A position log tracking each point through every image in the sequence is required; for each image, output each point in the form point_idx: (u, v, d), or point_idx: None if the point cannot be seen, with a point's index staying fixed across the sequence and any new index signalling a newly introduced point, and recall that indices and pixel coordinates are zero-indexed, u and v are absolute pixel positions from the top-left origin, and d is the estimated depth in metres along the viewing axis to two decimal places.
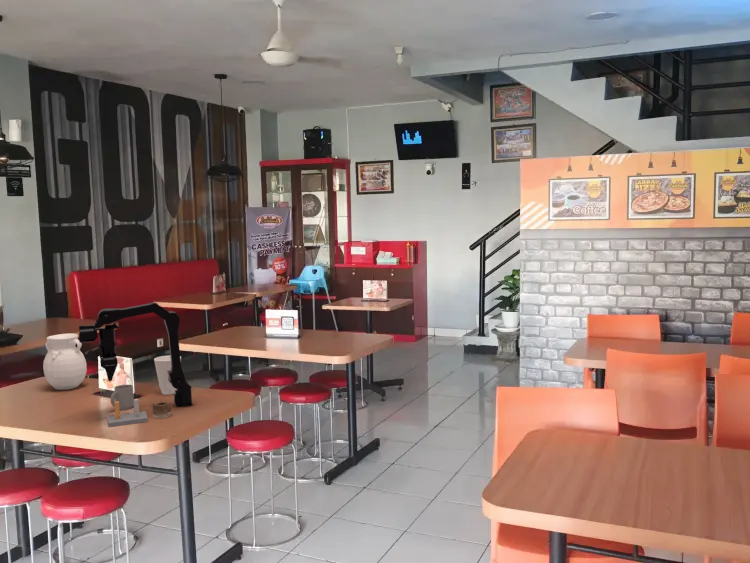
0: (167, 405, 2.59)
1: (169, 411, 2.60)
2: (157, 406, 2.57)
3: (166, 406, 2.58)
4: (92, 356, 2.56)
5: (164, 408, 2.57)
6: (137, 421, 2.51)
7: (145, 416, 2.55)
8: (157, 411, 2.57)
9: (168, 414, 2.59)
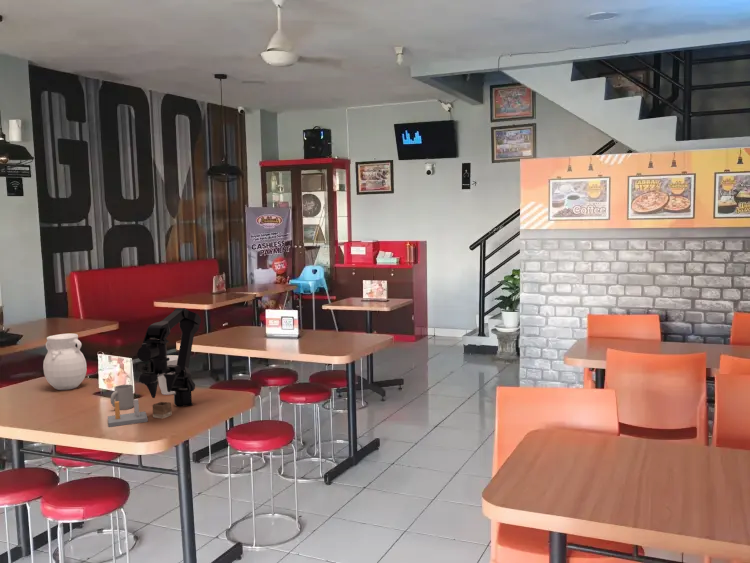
0: (167, 405, 2.59)
1: (169, 411, 2.60)
2: (157, 406, 2.57)
3: (166, 406, 2.58)
4: (140, 370, 2.56)
5: (164, 408, 2.57)
6: (137, 421, 2.51)
7: (145, 416, 2.55)
8: (157, 411, 2.57)
9: (168, 414, 2.59)
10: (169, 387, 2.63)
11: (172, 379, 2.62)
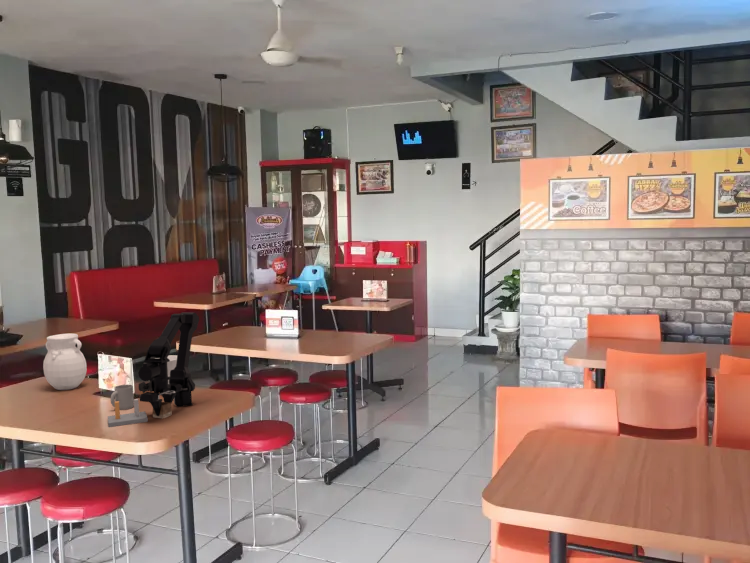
0: (167, 405, 2.59)
1: (169, 411, 2.60)
2: None
3: (166, 406, 2.58)
4: (141, 389, 2.57)
5: (164, 408, 2.57)
6: (137, 421, 2.51)
7: (145, 416, 2.55)
8: None
9: (168, 414, 2.59)
10: None
11: (169, 399, 2.61)
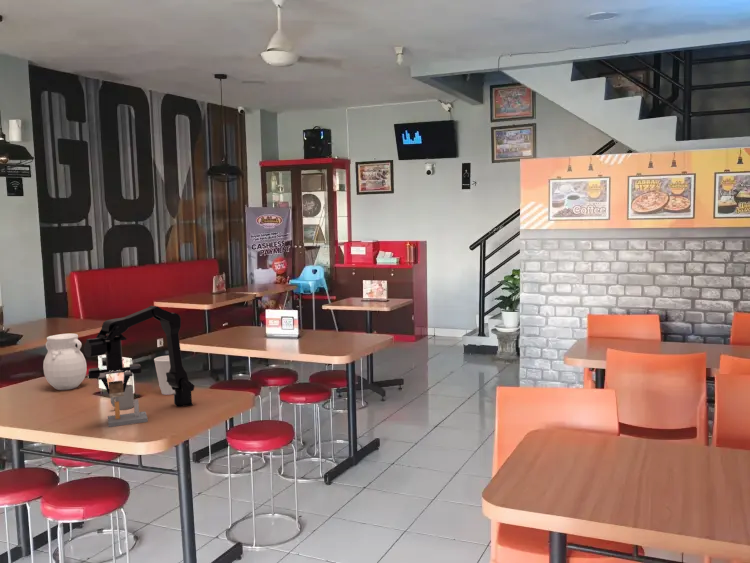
0: (116, 385, 2.49)
1: (120, 391, 2.50)
2: None
3: (115, 386, 2.49)
4: (102, 364, 2.55)
5: (111, 387, 2.49)
6: (137, 421, 2.51)
7: (145, 416, 2.55)
8: None
9: (118, 394, 2.50)
10: (123, 387, 2.52)
11: (124, 380, 2.51)
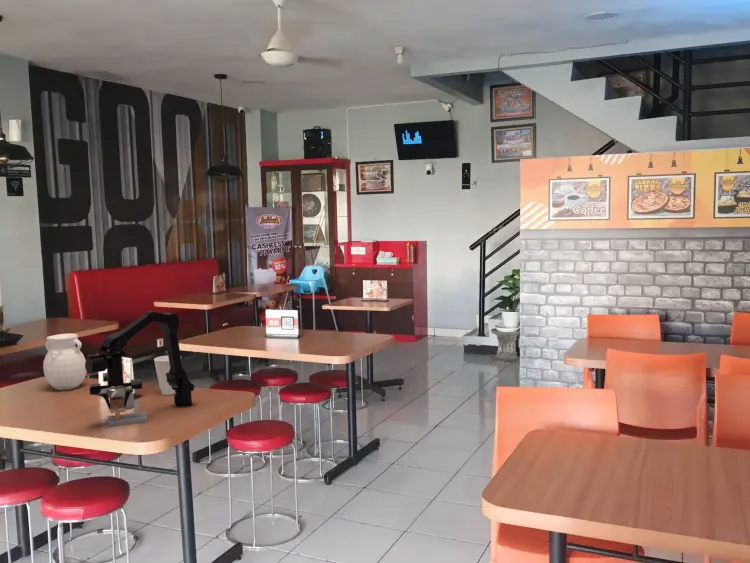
0: (117, 401, 2.50)
1: (121, 407, 2.51)
2: None
3: (116, 401, 2.50)
4: (103, 380, 2.55)
5: (112, 403, 2.49)
6: (137, 421, 2.51)
7: (145, 416, 2.55)
8: None
9: (119, 410, 2.50)
10: (124, 403, 2.53)
11: (125, 395, 2.52)
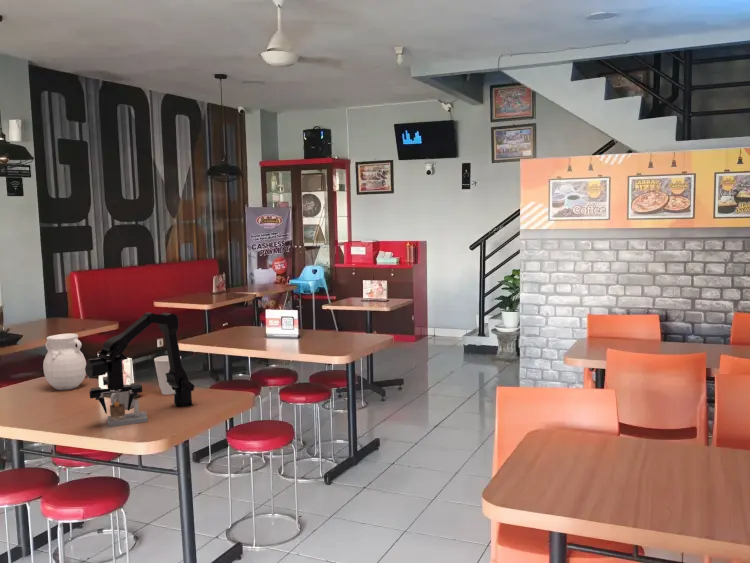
0: (118, 408, 2.50)
1: (121, 415, 2.51)
2: (110, 407, 2.52)
3: (116, 409, 2.50)
4: (103, 383, 2.55)
5: (113, 411, 2.50)
6: (137, 421, 2.51)
7: (145, 416, 2.55)
8: (110, 412, 2.52)
9: (119, 418, 2.51)
10: None
11: (128, 398, 2.52)
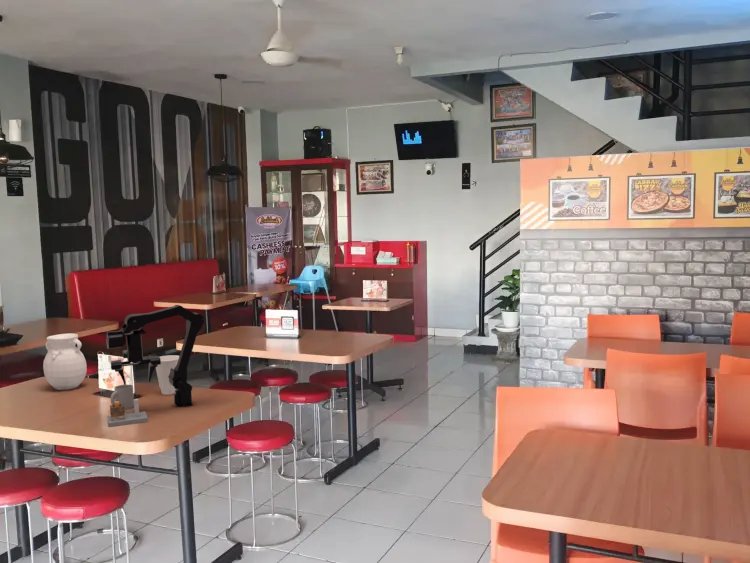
0: (118, 408, 2.50)
1: (121, 415, 2.51)
2: (110, 407, 2.52)
3: (116, 409, 2.50)
4: (123, 356, 2.68)
5: (113, 411, 2.50)
6: (137, 421, 2.51)
7: (145, 416, 2.55)
8: (110, 412, 2.52)
9: (119, 418, 2.51)
10: (148, 377, 2.66)
11: (149, 370, 2.65)
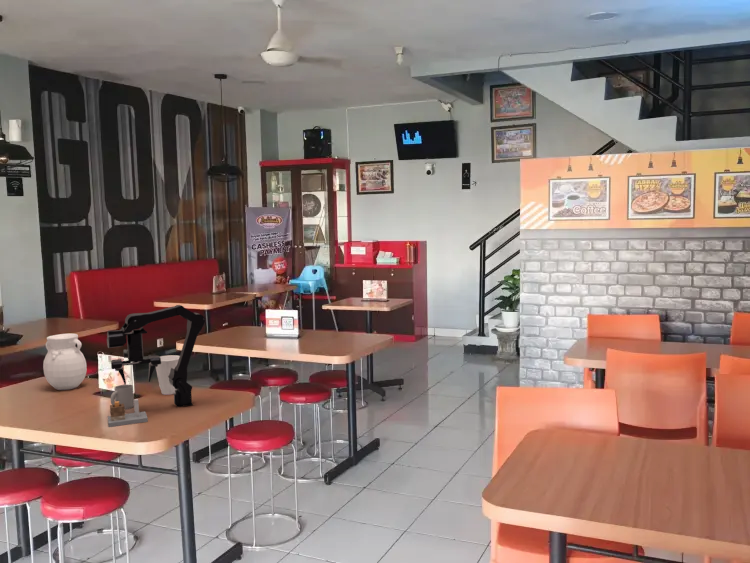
0: (118, 408, 2.50)
1: (121, 415, 2.51)
2: (110, 407, 2.52)
3: (116, 409, 2.50)
4: None
5: (113, 411, 2.50)
6: (137, 421, 2.51)
7: (145, 416, 2.55)
8: (110, 412, 2.52)
9: (119, 418, 2.51)
10: (148, 377, 2.67)
11: (149, 370, 2.65)
